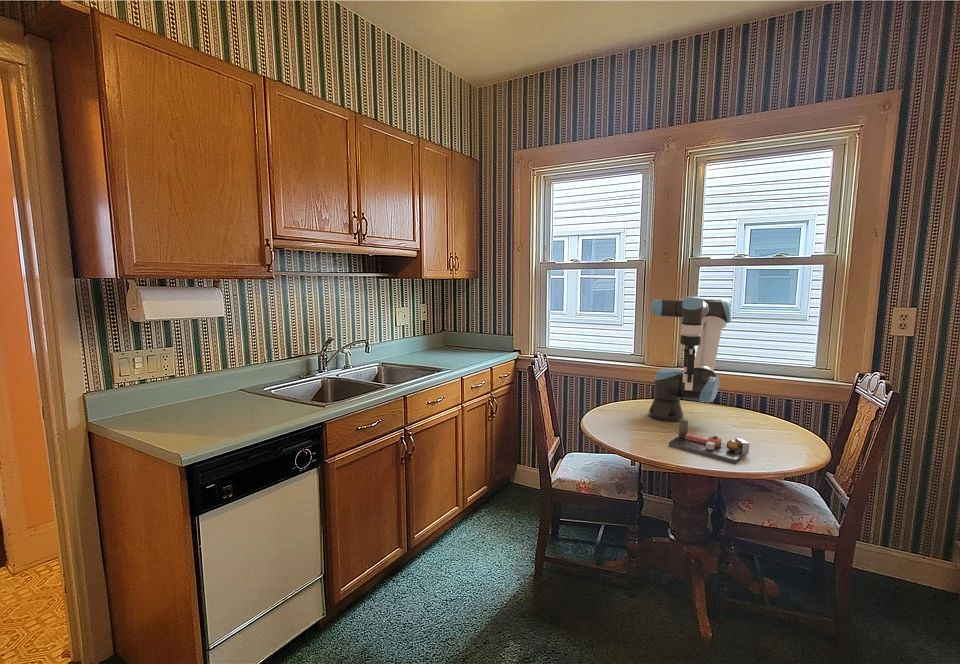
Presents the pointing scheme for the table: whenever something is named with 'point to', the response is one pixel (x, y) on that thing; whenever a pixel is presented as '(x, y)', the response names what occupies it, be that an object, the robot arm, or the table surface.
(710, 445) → the lever
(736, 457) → the base
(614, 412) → the table surface
